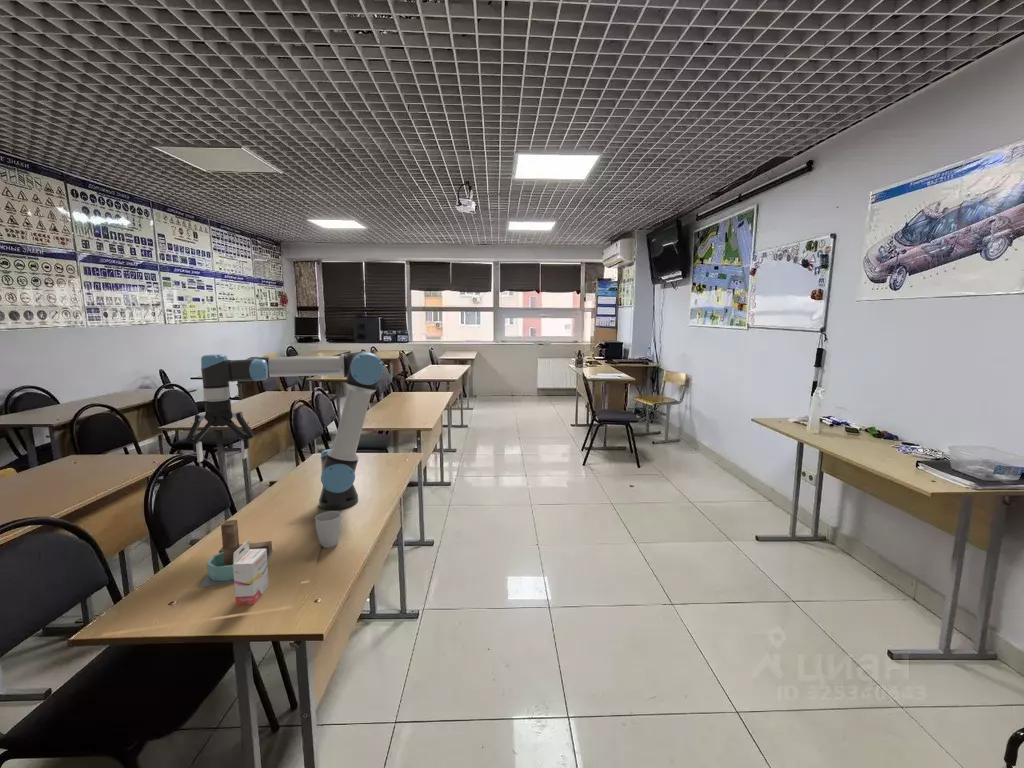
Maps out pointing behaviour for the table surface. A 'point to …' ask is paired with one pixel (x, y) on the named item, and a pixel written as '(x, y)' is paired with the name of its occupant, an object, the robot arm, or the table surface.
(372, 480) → the table surface
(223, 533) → the brown wooden block
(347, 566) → the table surface
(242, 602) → the ink cartridge box
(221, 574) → the teal octagonal bowl
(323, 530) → the cup
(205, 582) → the slate board
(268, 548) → the long wooden bar
